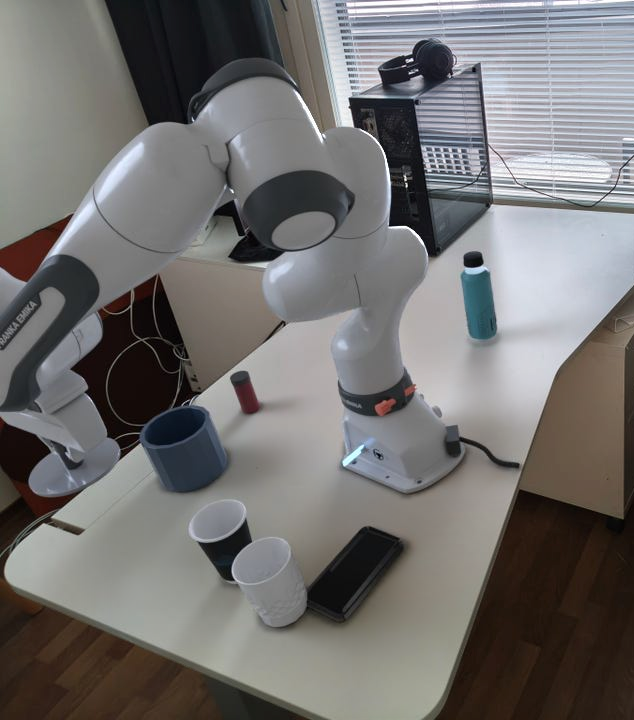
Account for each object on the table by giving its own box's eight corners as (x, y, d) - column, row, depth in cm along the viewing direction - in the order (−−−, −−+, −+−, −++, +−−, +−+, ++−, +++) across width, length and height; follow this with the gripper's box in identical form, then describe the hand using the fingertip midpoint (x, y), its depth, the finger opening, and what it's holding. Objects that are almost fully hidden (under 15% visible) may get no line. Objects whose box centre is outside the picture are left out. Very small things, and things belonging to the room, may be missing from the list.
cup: (239, 465, 124) (221, 421, 118) (178, 502, 117) (156, 458, 112) (209, 439, 131) (191, 397, 125) (150, 472, 125) (128, 430, 119)
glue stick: (263, 407, 138) (252, 374, 133) (247, 416, 136) (235, 383, 131) (254, 400, 140) (243, 368, 136) (238, 409, 138) (226, 377, 134)
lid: (135, 464, 103) (119, 432, 100) (47, 513, 97) (26, 481, 93) (104, 431, 111) (88, 401, 108) (21, 475, 104) (1, 443, 101)
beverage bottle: (495, 346, 147) (486, 261, 136) (465, 345, 149) (453, 261, 138) (501, 330, 152) (492, 246, 141) (471, 330, 154) (460, 247, 143)
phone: (405, 540, 103) (341, 619, 93) (406, 545, 104) (342, 624, 93) (364, 523, 107) (297, 597, 96) (365, 528, 107) (299, 602, 97)
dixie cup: (249, 542, 108) (228, 491, 102) (277, 567, 103) (256, 515, 97) (203, 574, 103) (178, 523, 97) (230, 602, 98) (205, 550, 92)
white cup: (290, 574, 101) (267, 528, 96) (324, 599, 97) (302, 551, 91) (246, 614, 97) (219, 567, 91) (279, 642, 92) (254, 594, 86)
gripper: (-39, 378, 97) (9, 452, 105) (50, 408, 88) (95, 487, 96) (3, 354, 102) (46, 427, 109) (92, 381, 93) (132, 458, 100)
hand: (70, 455), depth 102 cm, fingers closed on lid, 2 cm apart
